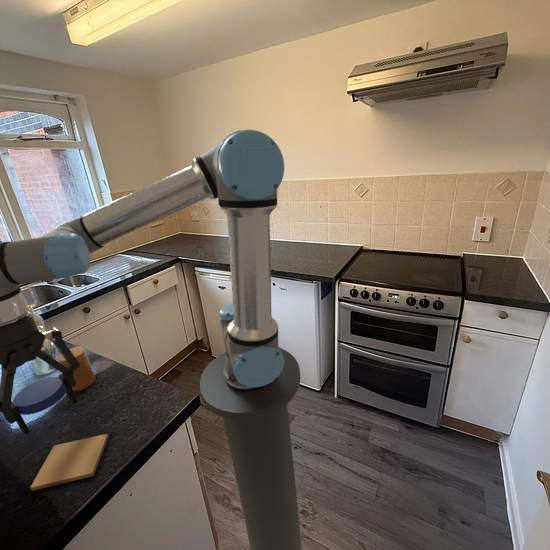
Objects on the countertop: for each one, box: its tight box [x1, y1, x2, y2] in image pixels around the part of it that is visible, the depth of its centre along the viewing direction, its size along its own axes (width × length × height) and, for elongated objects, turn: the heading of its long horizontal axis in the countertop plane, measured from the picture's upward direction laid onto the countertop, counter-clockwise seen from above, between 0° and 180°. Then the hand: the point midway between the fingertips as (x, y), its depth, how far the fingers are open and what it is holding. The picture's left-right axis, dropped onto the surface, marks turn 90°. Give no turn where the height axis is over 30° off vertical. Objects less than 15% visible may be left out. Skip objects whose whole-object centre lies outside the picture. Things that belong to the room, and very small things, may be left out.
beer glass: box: [31, 326, 57, 377], centre depth 97 cm, size 7×7×15 cm
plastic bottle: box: [28, 305, 57, 357], centre depth 103 cm, size 6×7×20 cm
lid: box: [12, 376, 66, 416], centre depth 60 cm, size 8×8×2 cm
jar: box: [56, 346, 97, 392], centre depth 90 cm, size 7×7×11 cm
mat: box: [29, 433, 110, 491], centre depth 67 cm, size 12×10×1 cm
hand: (50, 414), depth 62 cm, fingers closed on lid, 8 cm apart
